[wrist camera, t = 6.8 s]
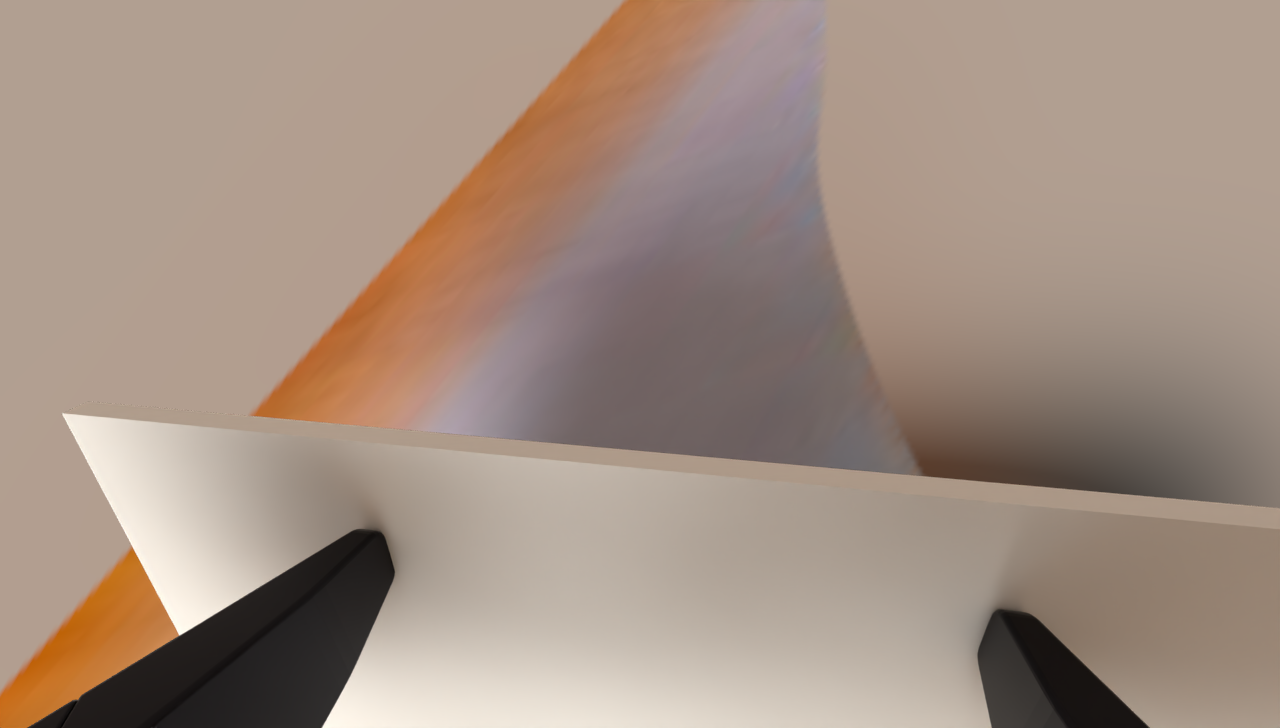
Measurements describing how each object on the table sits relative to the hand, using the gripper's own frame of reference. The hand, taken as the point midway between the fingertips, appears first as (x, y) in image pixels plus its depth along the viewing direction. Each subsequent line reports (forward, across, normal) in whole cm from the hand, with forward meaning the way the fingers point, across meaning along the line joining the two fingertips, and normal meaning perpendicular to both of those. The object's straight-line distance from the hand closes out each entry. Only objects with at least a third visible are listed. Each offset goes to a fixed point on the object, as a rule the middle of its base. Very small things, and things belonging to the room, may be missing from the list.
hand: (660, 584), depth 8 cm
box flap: (0, 0, +8) cm, 8 cm away
